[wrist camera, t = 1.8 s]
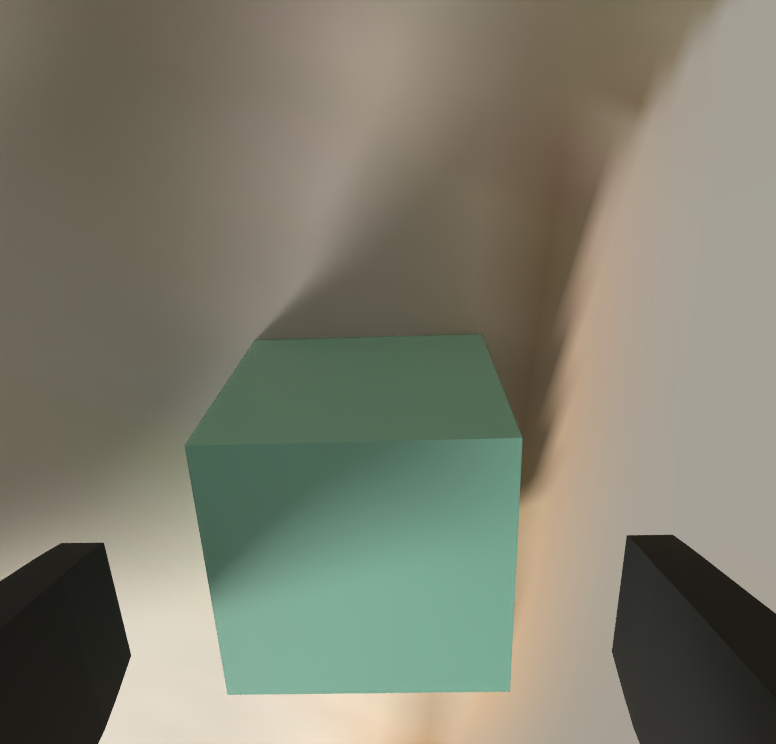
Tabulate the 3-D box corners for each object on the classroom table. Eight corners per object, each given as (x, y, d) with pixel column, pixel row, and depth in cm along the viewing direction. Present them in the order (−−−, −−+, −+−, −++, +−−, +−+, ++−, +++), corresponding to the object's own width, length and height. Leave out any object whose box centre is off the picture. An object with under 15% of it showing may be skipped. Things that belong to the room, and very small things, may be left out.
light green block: (278, 526, 14) (228, 694, 10) (256, 338, 13) (184, 445, 8) (477, 523, 14) (509, 691, 10) (481, 332, 12) (522, 437, 8)
